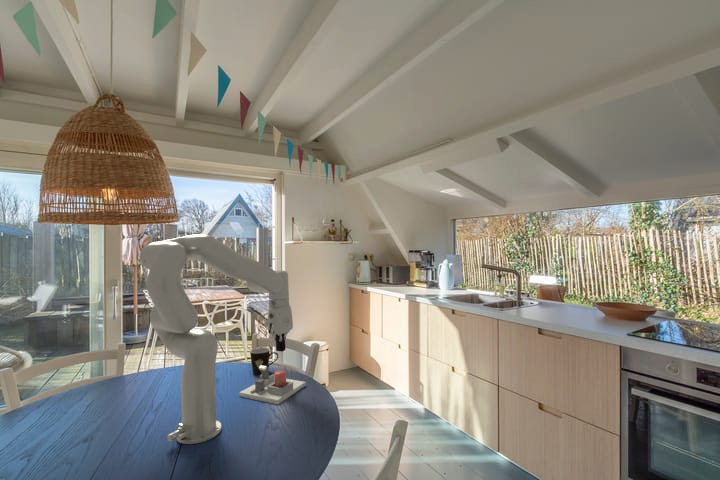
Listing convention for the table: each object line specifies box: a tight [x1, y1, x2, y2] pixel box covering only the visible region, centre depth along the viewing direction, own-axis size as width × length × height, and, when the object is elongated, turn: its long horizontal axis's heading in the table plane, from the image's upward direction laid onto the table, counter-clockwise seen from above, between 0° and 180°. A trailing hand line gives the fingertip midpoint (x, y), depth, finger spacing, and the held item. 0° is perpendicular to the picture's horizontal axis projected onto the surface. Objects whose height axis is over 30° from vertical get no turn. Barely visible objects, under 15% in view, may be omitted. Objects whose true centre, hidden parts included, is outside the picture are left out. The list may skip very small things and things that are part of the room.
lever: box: [259, 365, 271, 380], centre depth 143 cm, size 1×3×7 cm, turn 66°
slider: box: [254, 378, 265, 392], centre depth 134 cm, size 2×2×4 cm
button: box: [273, 370, 287, 387], centre depth 134 cm, size 4×4×4 cm
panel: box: [238, 373, 306, 405], centre depth 138 cm, size 18×18×4 cm
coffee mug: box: [249, 347, 279, 376], centre depth 158 cm, size 12×9×10 cm
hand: (280, 350), depth 134 cm, fingers closed
